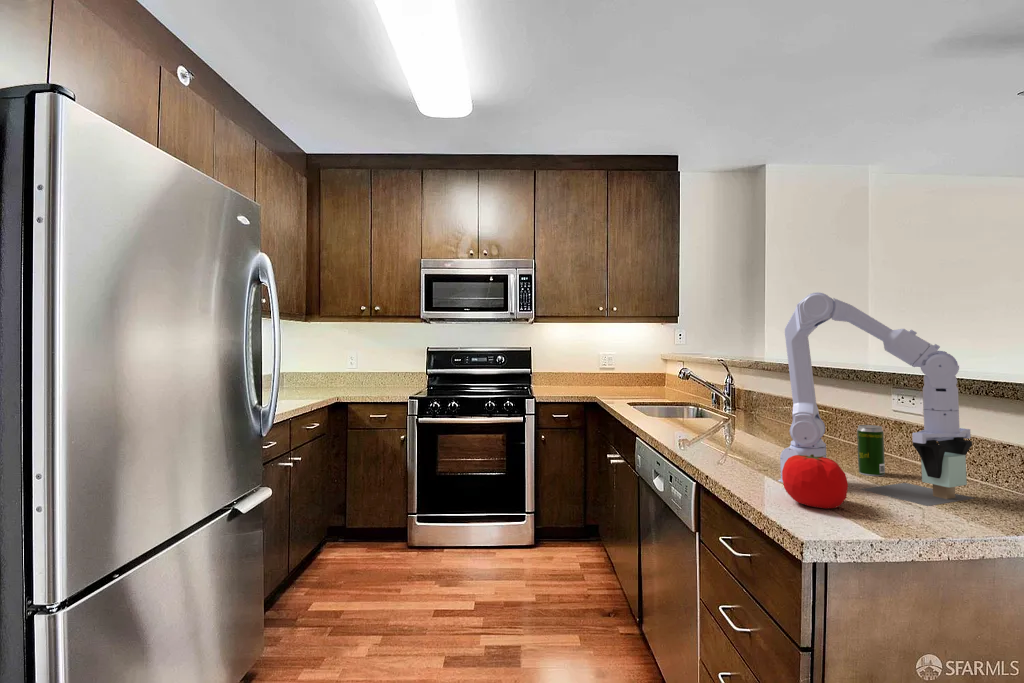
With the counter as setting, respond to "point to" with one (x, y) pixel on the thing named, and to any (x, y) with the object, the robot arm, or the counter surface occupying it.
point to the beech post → (943, 492)
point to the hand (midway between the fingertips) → (943, 475)
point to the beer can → (870, 450)
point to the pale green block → (949, 471)
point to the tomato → (815, 481)
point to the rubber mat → (914, 494)
